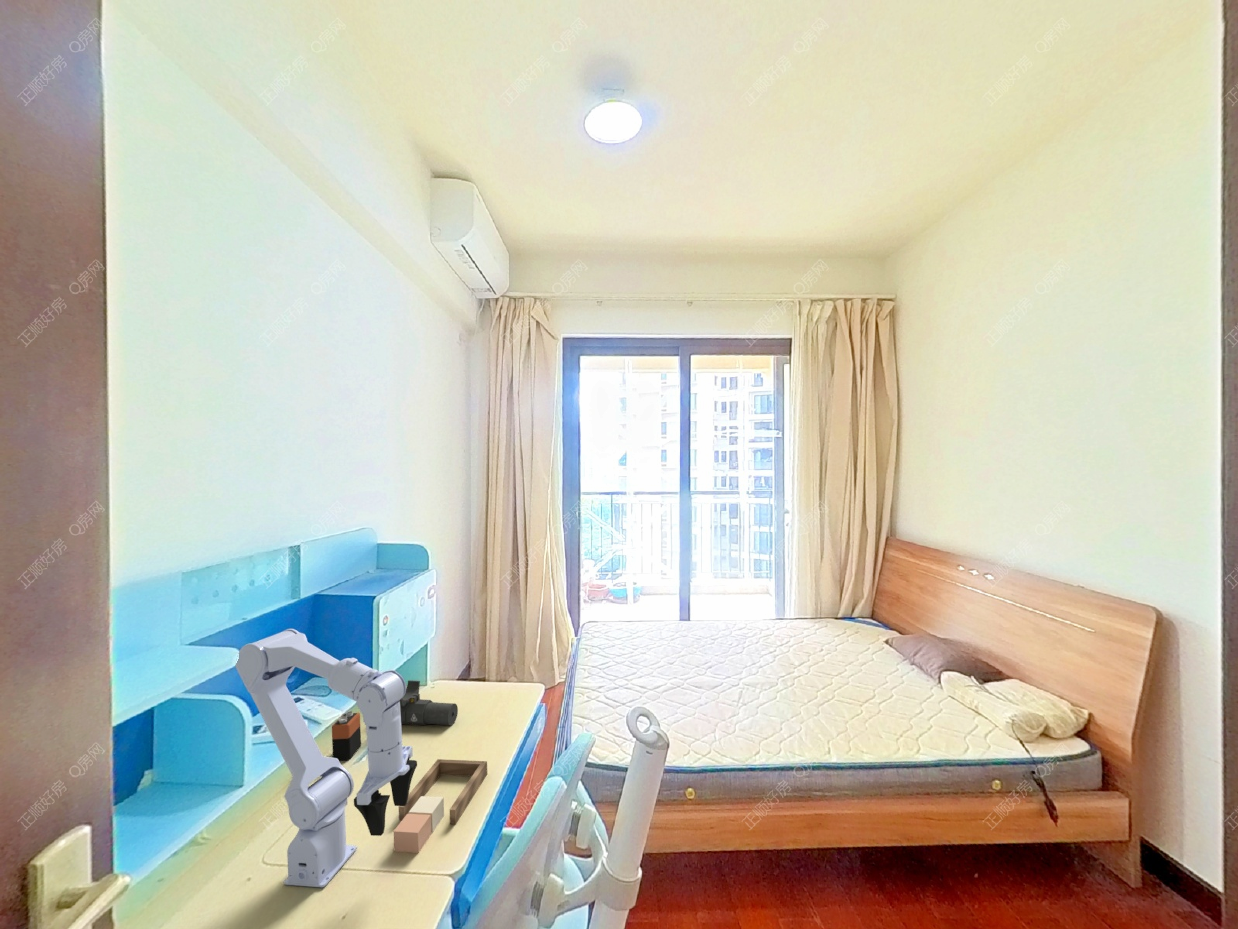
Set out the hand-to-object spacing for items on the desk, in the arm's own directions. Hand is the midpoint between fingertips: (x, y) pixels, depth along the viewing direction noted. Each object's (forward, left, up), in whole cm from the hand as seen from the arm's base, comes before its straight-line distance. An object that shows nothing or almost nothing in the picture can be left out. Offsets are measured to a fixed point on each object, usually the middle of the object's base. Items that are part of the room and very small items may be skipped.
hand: (389, 819), depth 93 cm
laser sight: (+54, +24, -11) cm, 60 cm away
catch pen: (+22, +1, -10) cm, 24 cm away
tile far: (+14, 0, -11) cm, 17 cm away
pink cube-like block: (+8, +1, -11) cm, 14 cm away
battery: (+37, +35, -11) cm, 52 cm away
